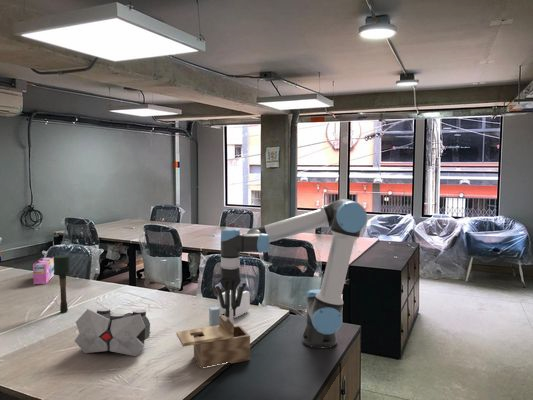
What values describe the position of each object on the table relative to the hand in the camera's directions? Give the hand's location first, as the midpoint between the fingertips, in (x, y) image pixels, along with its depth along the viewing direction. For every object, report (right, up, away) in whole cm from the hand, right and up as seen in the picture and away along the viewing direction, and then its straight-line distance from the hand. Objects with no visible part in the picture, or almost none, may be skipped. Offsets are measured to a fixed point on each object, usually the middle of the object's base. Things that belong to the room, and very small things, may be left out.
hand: (230, 324), depth 171 cm
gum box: (-136, -4, +115) cm, 178 cm away
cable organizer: (-3, -10, +50) cm, 51 cm away
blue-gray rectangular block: (-8, -13, +13) cm, 20 cm away
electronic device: (-49, -13, +8) cm, 51 cm away
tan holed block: (-10, -4, -4) cm, 11 cm away
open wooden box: (-3, -14, 0) cm, 14 cm away
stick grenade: (-93, -9, +53) cm, 107 cm away
